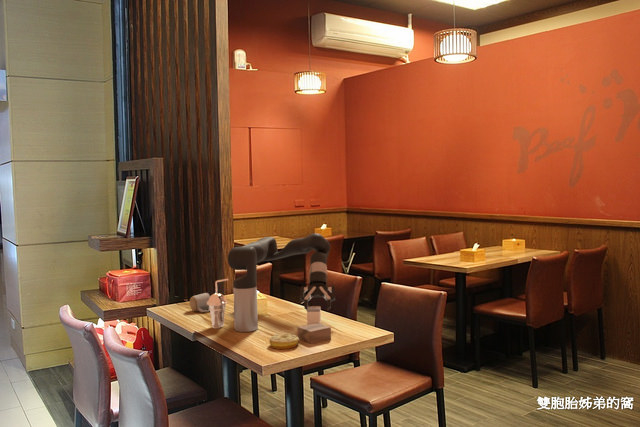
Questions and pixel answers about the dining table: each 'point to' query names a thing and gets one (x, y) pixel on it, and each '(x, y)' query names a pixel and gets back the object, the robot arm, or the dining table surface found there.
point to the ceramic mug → (200, 302)
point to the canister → (313, 314)
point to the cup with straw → (217, 307)
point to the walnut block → (314, 333)
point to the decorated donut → (283, 341)
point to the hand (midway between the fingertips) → (317, 309)
